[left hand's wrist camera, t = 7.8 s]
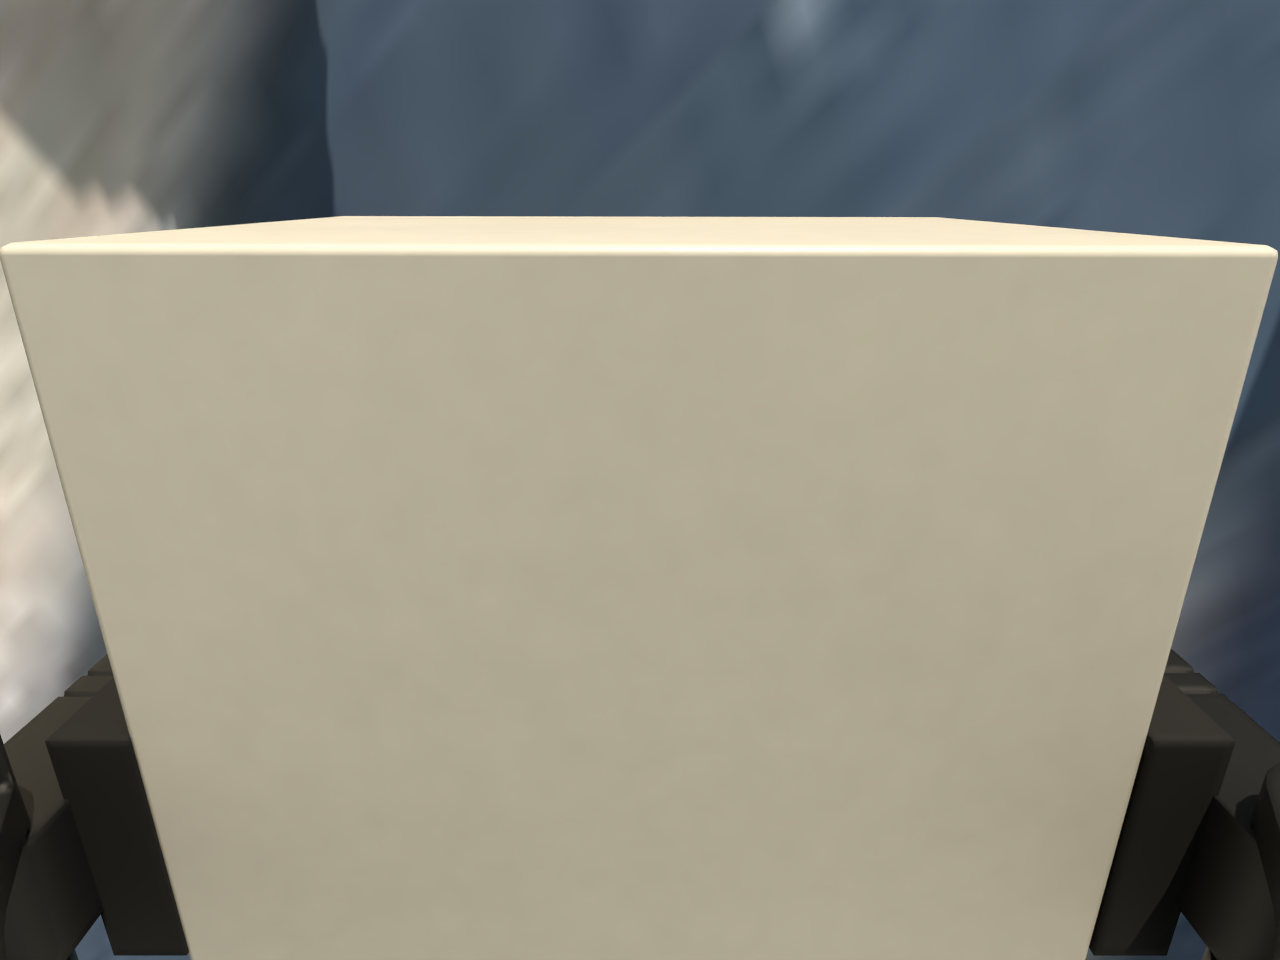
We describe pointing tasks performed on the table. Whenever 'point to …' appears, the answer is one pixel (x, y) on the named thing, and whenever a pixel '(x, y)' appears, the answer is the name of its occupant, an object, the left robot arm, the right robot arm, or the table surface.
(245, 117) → the table surface
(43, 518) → the table surface
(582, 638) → the wide beam
